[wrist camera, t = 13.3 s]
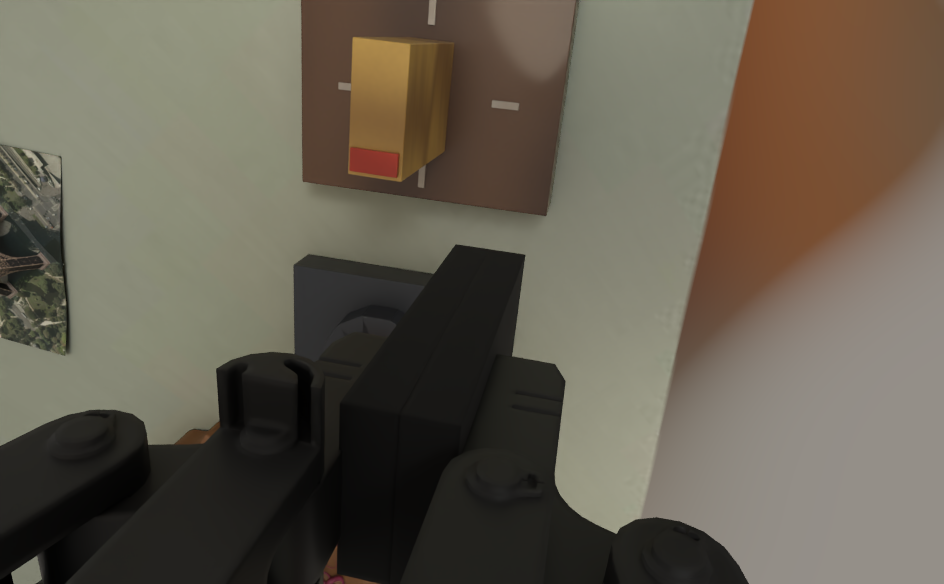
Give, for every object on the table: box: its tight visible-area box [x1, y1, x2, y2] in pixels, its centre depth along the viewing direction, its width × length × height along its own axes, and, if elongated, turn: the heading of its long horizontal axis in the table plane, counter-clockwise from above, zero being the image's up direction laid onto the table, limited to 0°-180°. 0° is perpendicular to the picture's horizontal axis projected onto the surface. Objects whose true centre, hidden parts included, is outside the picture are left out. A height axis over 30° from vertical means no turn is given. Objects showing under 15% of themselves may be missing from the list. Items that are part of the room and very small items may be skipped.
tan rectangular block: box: [348, 37, 454, 182], centre depth 30 cm, size 6×2×8 cm, turn 174°
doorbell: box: [294, 255, 434, 362], centre depth 41 cm, size 12×10×4 cm
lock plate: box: [301, 0, 579, 216], centre depth 35 cm, size 14×11×3 cm
